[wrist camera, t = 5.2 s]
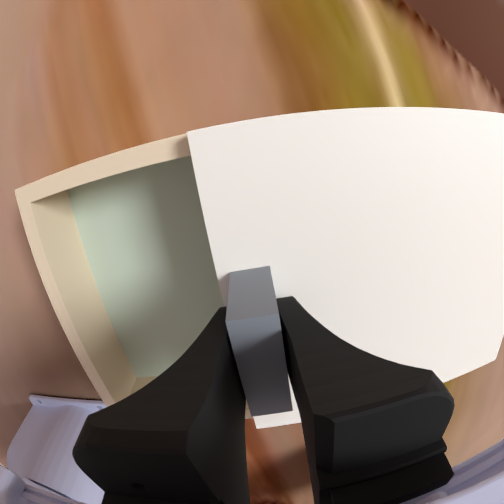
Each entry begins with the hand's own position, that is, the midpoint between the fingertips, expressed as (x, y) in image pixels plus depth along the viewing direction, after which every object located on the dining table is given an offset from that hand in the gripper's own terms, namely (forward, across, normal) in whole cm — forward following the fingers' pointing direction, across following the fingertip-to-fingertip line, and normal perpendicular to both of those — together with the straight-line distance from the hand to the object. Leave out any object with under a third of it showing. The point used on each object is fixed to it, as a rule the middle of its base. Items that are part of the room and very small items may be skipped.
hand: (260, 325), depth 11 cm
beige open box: (+5, +2, 0) cm, 6 cm away
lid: (+1, -6, 0) cm, 6 cm away
